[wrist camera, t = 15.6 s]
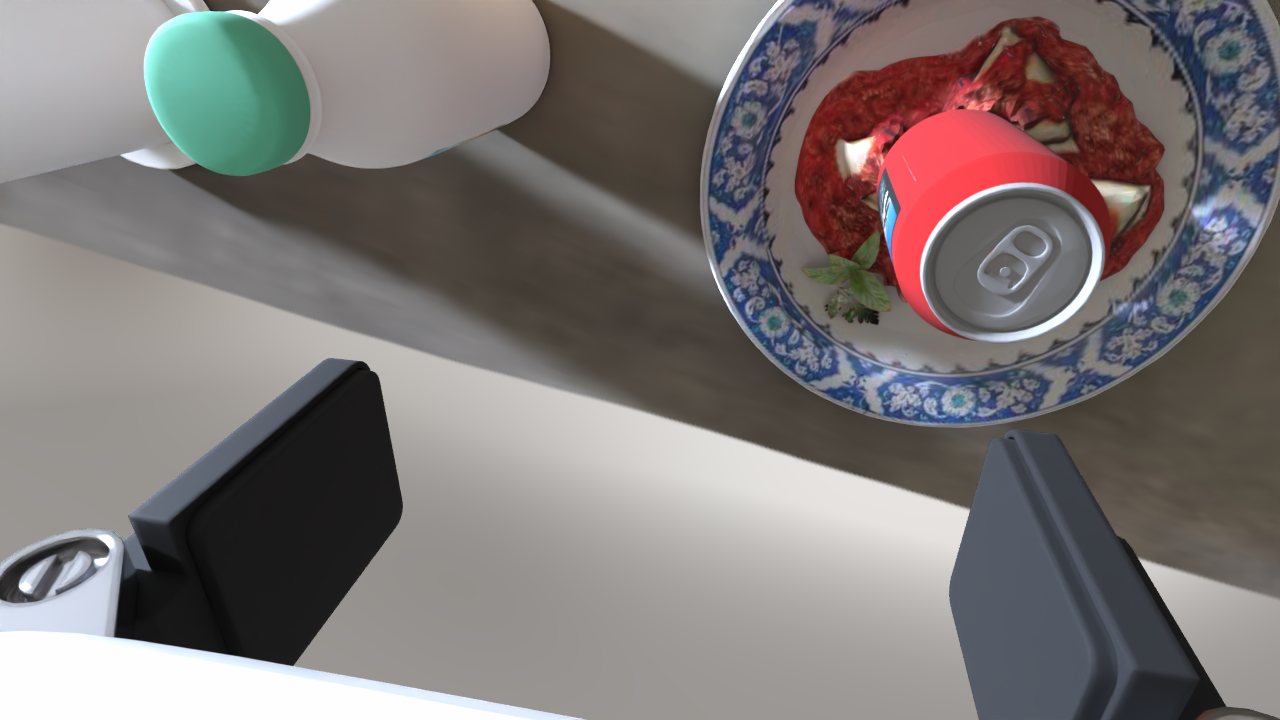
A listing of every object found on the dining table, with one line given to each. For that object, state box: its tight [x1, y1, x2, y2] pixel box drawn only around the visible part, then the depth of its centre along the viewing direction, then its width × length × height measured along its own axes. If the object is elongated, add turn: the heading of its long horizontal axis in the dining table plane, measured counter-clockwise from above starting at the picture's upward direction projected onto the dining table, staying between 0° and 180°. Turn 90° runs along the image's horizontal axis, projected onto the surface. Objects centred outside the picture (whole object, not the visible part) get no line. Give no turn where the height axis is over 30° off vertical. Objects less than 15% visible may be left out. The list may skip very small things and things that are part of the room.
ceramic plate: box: [700, 0, 1280, 428], centre depth 35 cm, size 26×26×3 cm
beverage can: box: [876, 109, 1112, 344], centre depth 28 cm, size 7×7×12 cm
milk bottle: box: [144, 0, 550, 176], centre depth 29 cm, size 8×8×20 cm
